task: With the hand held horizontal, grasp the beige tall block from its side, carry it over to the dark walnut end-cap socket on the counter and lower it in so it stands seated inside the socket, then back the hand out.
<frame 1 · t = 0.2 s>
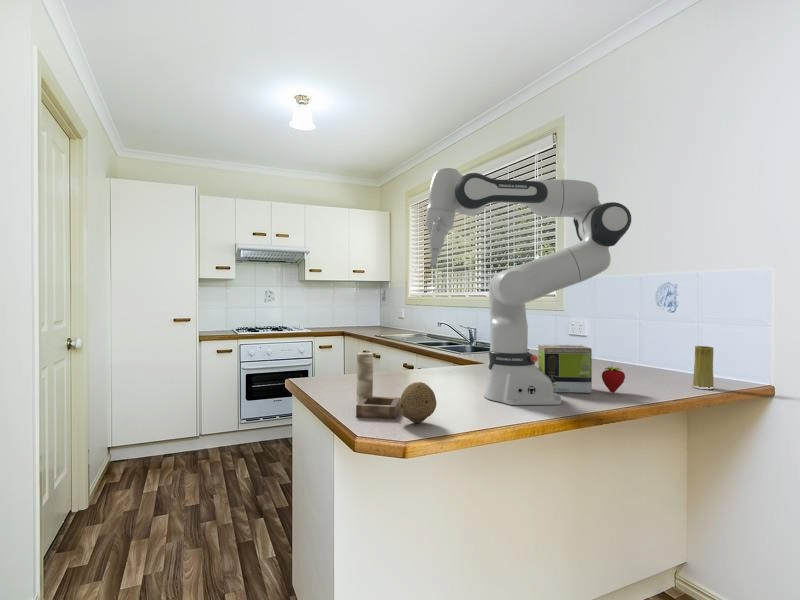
hand: (433, 266, 139), 40 cm above the countertop, tool pointing down, fingers open, 8 cm apart
natural sponge: (418, 424, 109), on the countertop
tea box: (563, 390, 150), on the countertop
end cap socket: (378, 412, 118), on the countertop
vase: (702, 388, 155), on the countertop
beige tall block: (364, 401, 130), on the countertop
supplement bottle: (525, 387, 154), on the countertop
strawberry: (612, 393, 146), on the countertop
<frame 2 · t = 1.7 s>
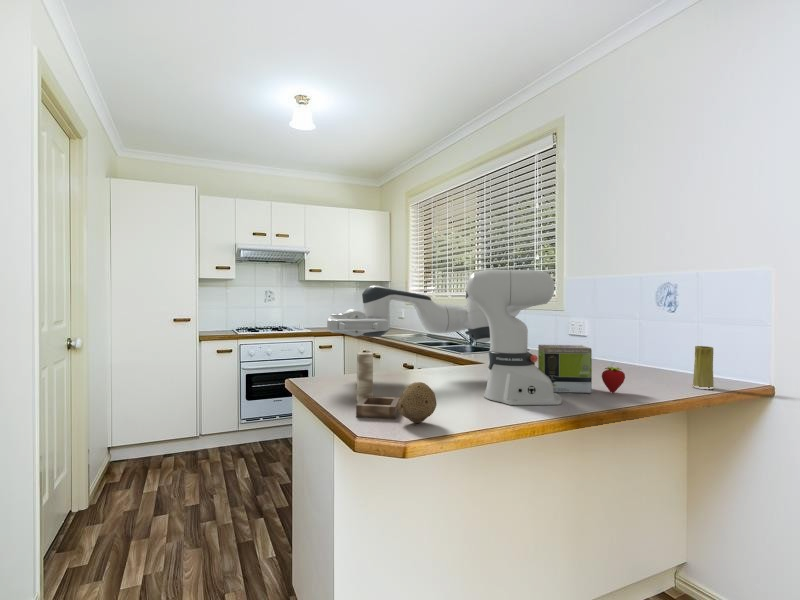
hand: (360, 326, 143), 21 cm above the countertop, tool horizontal, fingers open, 8 cm apart
nothing on the countertop moved.
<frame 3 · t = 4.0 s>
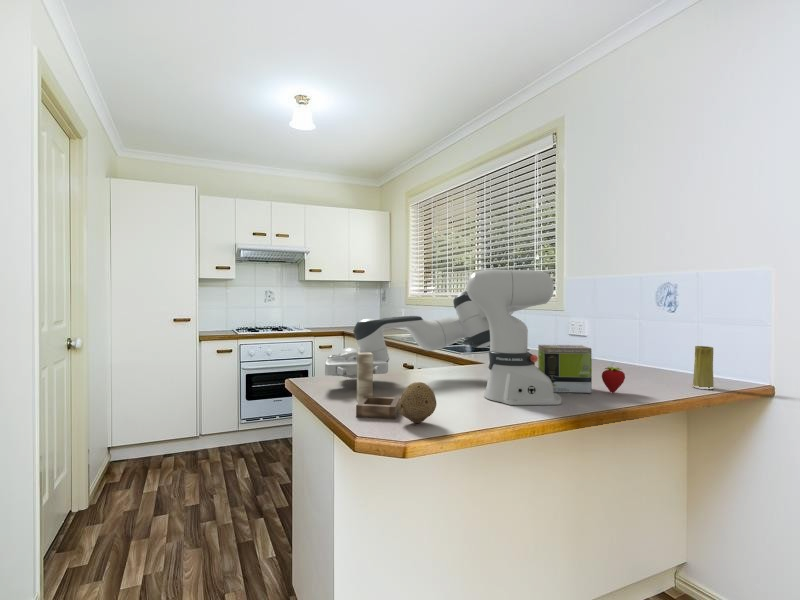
hand: (359, 371, 137), 7 cm above the countertop, tool horizontal, fingers open, 8 cm apart
nothing on the countertop moved.
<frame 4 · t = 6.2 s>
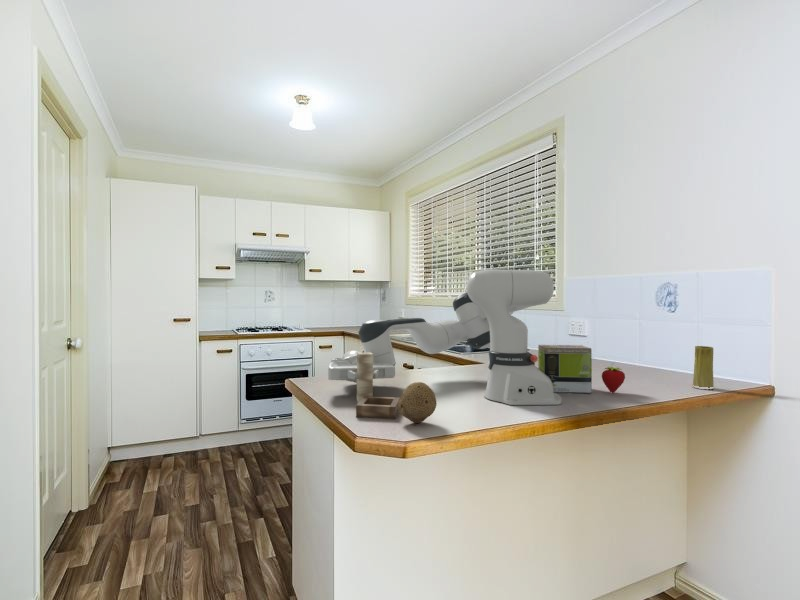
hand: (365, 376, 129), 8 cm above the countertop, tool horizontal, fingers closed on beige tall block, 4 cm apart
beige tall block: (364, 401, 130), on the countertop, touching gripper
everything else where it was.
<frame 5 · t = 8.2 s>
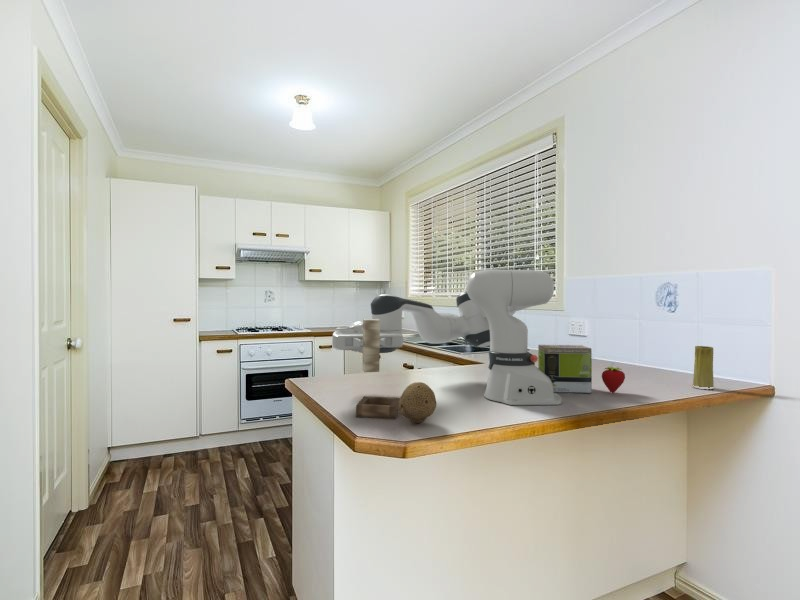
hand: (371, 343, 122), 18 cm above the countertop, tool horizontal, fingers closed on beige tall block, 4 cm apart
beige tall block: (370, 370, 123), point 10 cm above the countertop, touching gripper
everything else where it was.
when the fingers open (10 cm above the countertop, at t = 10.6 s): beige tall block drops 1 cm, resting on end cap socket.
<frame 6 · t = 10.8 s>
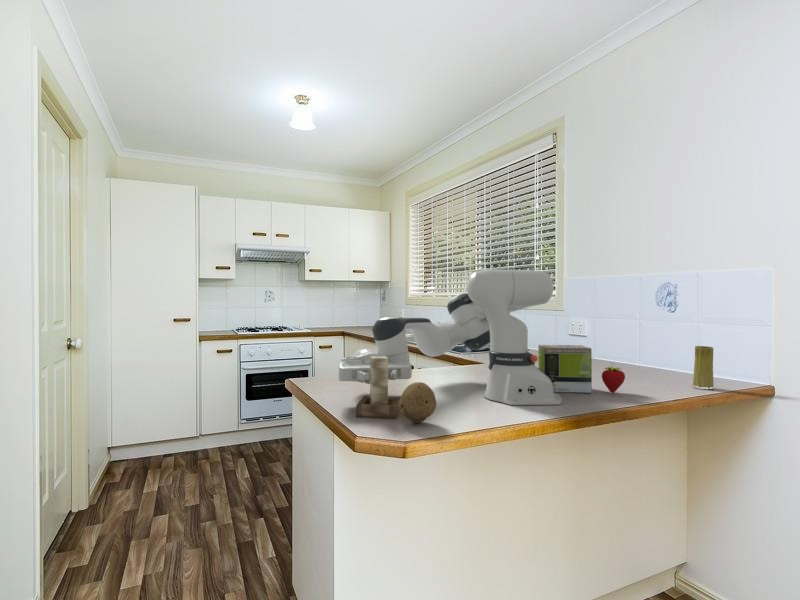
hand: (379, 377, 117), 10 cm above the countertop, tool horizontal, fingers open, 6 cm apart
beige tall block: (378, 410, 118), point 1 cm above the countertop, touching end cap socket
everything else where it was.
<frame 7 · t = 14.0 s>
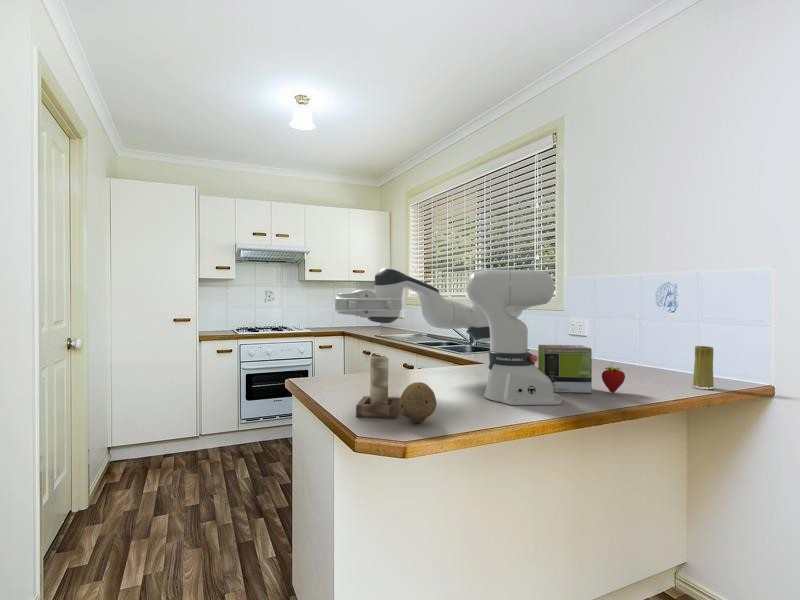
hand: (372, 305, 130), 28 cm above the countertop, tool horizontal, fingers open, 8 cm apart
nothing on the countertop moved.
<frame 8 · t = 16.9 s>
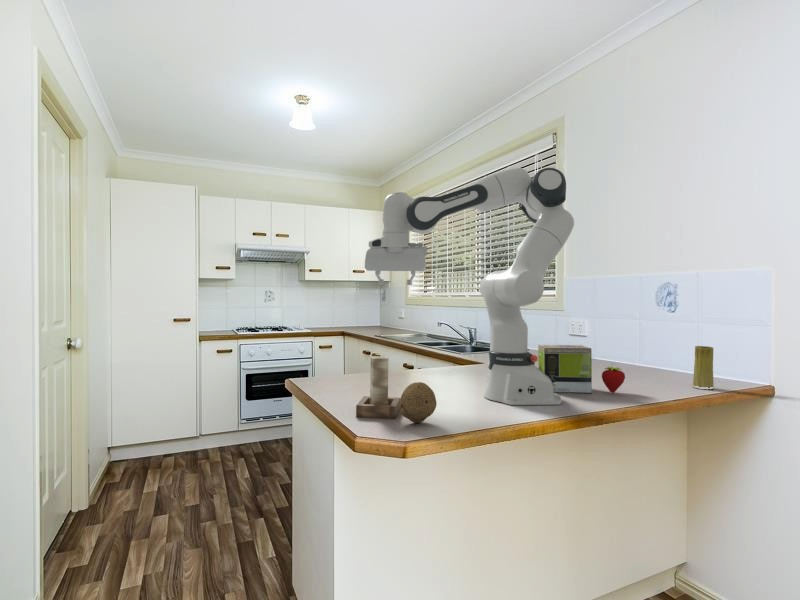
hand: (395, 284, 148), 34 cm above the countertop, tool pointing down, fingers open, 8 cm apart
nothing on the countertop moved.
at the end: beige tall block 0.1 cm off-centre on the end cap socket, point 0.6 cm above the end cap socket's base; beige tall block tilted 0°; the gripper is holding nothing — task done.
